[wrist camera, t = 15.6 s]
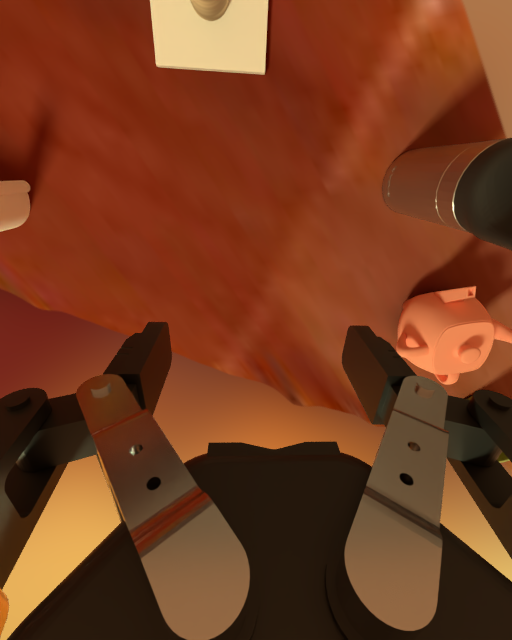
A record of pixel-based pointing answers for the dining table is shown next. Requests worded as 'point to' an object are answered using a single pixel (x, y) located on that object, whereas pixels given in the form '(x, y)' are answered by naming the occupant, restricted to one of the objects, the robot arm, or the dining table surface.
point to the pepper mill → (210, 8)
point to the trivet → (211, 37)
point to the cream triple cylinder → (13, 203)
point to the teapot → (448, 332)
